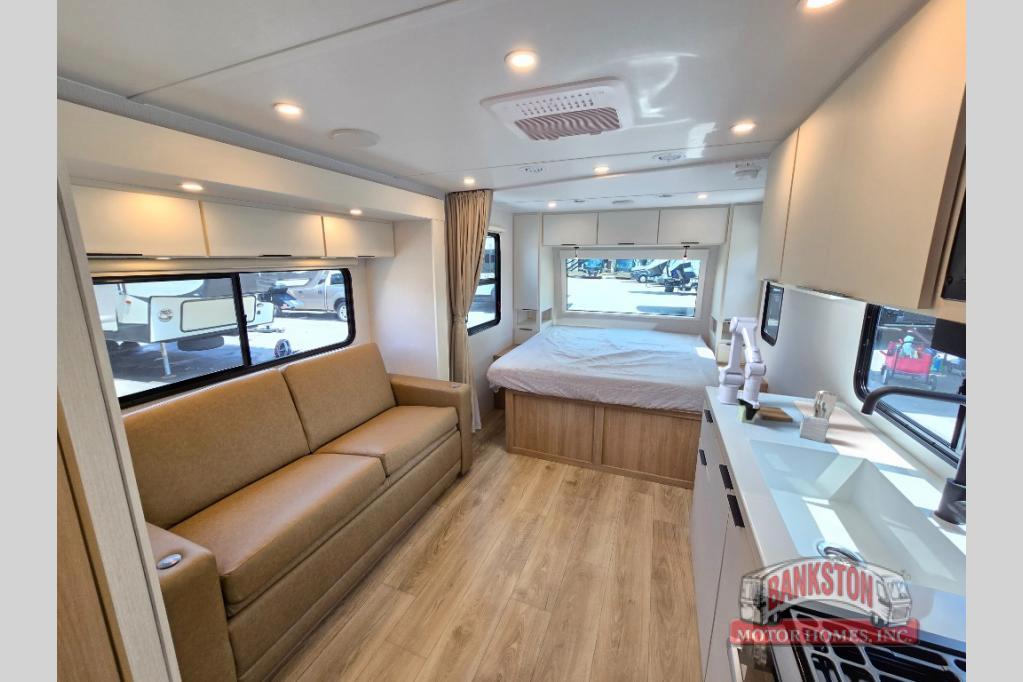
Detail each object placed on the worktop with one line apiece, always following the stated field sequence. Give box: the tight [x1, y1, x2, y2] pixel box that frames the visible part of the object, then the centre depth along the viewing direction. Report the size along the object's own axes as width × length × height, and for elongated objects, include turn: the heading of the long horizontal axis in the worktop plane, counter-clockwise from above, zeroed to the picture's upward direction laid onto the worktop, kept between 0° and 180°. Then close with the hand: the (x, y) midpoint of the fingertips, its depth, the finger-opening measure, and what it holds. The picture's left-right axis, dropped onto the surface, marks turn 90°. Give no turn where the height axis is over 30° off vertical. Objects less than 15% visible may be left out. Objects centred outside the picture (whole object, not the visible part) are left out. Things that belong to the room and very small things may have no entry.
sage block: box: [736, 404, 757, 425], centre depth 159 cm, size 5×5×6 cm
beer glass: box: [813, 389, 838, 424], centre depth 155 cm, size 7×7×15 cm
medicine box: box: [798, 414, 830, 444], centre depth 144 cm, size 8×4×9 cm, turn 56°
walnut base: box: [756, 405, 794, 424], centre depth 165 cm, size 12×12×2 cm
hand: (746, 417), depth 159 cm, fingers closed on sage block, 5 cm apart
